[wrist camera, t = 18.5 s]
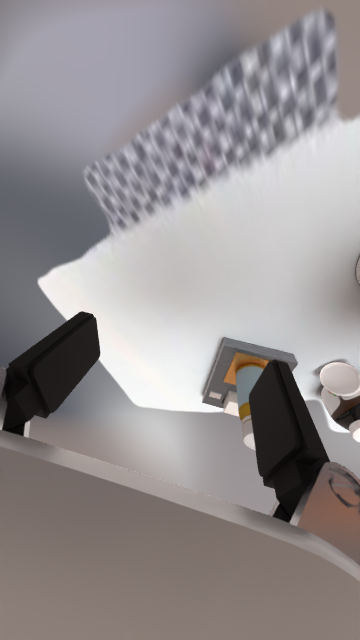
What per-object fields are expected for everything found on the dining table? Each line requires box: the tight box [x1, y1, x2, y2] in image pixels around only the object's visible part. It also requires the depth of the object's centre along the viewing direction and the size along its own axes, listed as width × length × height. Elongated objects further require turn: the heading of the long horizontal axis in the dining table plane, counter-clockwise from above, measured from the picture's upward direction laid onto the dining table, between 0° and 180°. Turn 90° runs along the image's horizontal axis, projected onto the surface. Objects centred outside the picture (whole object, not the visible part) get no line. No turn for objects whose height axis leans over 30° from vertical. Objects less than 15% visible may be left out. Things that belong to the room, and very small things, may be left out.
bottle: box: [236, 364, 264, 450], centre depth 36 cm, size 7×7×15 cm
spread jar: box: [319, 362, 360, 442], centre depth 38 cm, size 12×11×12 cm
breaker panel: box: [202, 337, 298, 408], centre depth 46 cm, size 16×22×4 cm
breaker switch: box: [224, 390, 239, 416], centre depth 48 cm, size 5×5×5 cm
